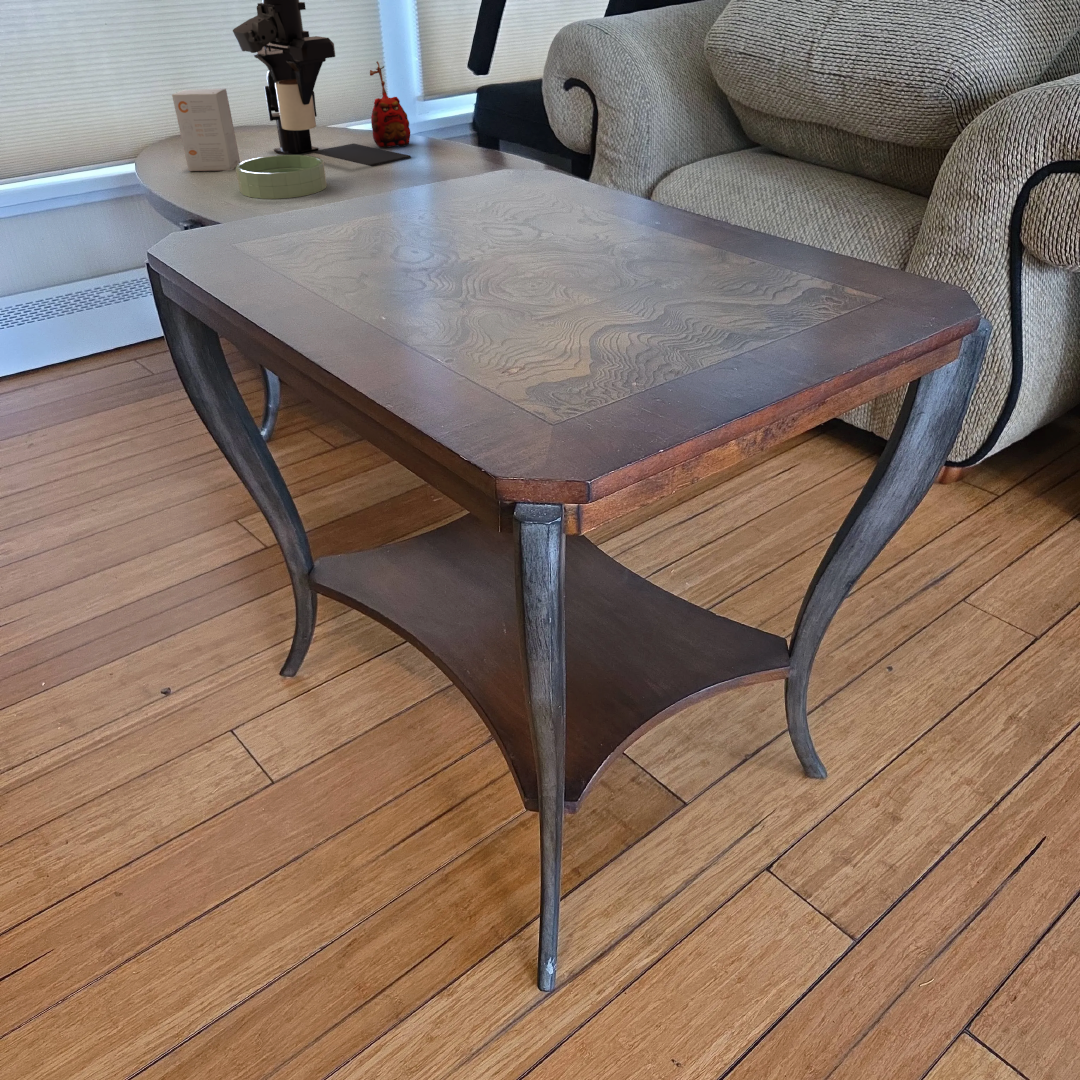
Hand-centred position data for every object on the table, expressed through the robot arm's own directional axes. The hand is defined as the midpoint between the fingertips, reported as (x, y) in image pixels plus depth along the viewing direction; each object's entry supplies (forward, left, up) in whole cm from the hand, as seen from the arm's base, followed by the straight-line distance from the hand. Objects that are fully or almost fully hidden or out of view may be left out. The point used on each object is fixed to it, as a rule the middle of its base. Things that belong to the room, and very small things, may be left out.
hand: (295, 102), depth 158 cm
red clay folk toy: (-12, +28, -13) cm, 33 cm away
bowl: (+4, -8, -13) cm, 15 cm away
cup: (0, 0, -4) cm, 4 cm away
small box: (-22, -6, -13) cm, 26 cm away
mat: (-9, +16, -13) cm, 23 cm away
